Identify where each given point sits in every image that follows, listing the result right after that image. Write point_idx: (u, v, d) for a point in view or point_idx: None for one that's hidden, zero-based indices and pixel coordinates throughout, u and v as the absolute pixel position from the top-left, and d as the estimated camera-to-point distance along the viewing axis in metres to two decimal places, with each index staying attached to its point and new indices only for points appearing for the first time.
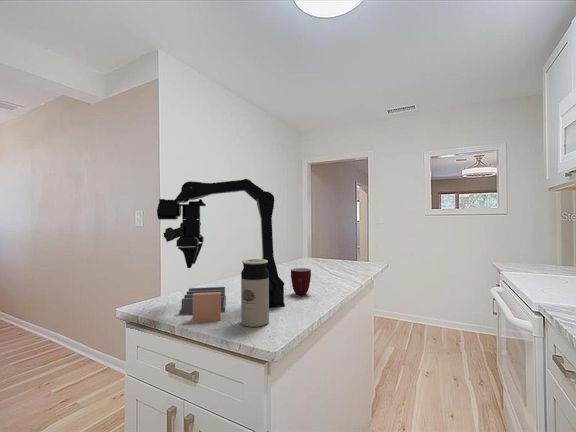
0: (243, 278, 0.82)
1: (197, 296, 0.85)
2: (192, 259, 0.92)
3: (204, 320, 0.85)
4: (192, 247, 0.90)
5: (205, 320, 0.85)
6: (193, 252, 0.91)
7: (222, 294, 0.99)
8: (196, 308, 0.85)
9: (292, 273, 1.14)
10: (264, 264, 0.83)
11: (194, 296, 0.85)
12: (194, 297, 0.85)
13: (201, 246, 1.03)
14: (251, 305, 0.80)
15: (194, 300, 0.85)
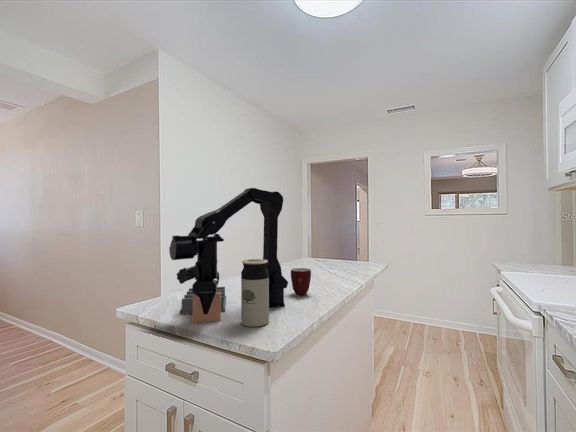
0: (243, 278, 0.82)
1: (197, 296, 0.85)
2: (209, 304, 0.81)
3: (204, 320, 0.85)
4: (210, 292, 0.79)
5: (205, 320, 0.85)
6: (210, 297, 0.81)
7: (222, 294, 0.99)
8: (196, 308, 0.85)
9: (292, 273, 1.14)
10: (264, 264, 0.83)
11: (194, 296, 0.85)
12: (194, 297, 0.85)
13: (217, 284, 0.93)
14: (251, 305, 0.80)
15: (194, 300, 0.85)
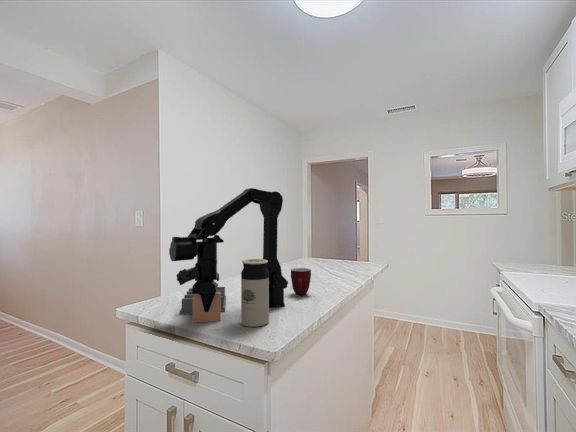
0: (243, 278, 0.82)
1: (197, 296, 0.85)
2: (210, 302, 0.84)
3: (204, 320, 0.85)
4: None
5: (205, 320, 0.85)
6: (211, 295, 0.84)
7: (222, 294, 0.99)
8: (196, 308, 0.85)
9: (292, 273, 1.14)
10: (264, 264, 0.83)
11: (194, 296, 0.85)
12: (194, 297, 0.85)
13: None
14: (251, 305, 0.80)
15: (194, 300, 0.85)
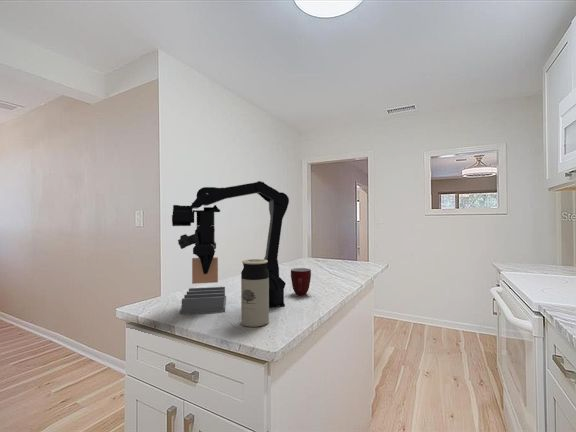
0: (243, 278, 0.82)
1: (196, 260, 0.94)
2: (208, 265, 0.93)
3: (203, 282, 0.94)
4: (209, 253, 0.91)
5: (204, 282, 0.94)
6: (210, 258, 0.93)
7: (222, 294, 0.99)
8: (195, 270, 0.94)
9: (292, 273, 1.14)
10: (264, 264, 0.83)
11: (193, 260, 0.93)
12: (194, 261, 0.93)
13: None
14: (251, 305, 0.80)
15: (193, 263, 0.93)
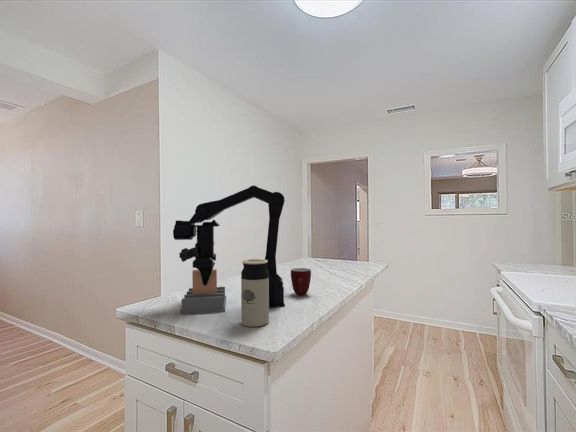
0: (243, 278, 0.82)
1: (196, 272, 0.99)
2: (208, 277, 0.99)
3: (202, 292, 1.00)
4: (208, 266, 0.97)
5: (203, 292, 1.00)
6: (209, 270, 0.98)
7: (222, 294, 0.99)
8: (195, 282, 0.99)
9: (292, 273, 1.14)
10: (264, 264, 0.83)
11: (194, 272, 0.99)
12: (194, 273, 0.99)
13: (213, 265, 1.04)
14: (251, 305, 0.80)
15: (194, 275, 0.99)
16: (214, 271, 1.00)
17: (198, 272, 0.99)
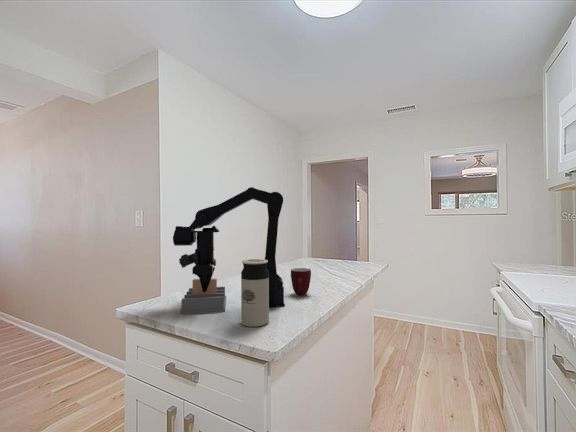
0: (243, 278, 0.82)
1: (196, 281, 1.00)
2: (207, 283, 0.98)
3: None
4: None
5: None
6: (208, 277, 0.97)
7: (222, 294, 0.99)
8: (195, 291, 0.99)
9: (292, 273, 1.14)
10: (264, 264, 0.83)
11: (194, 281, 0.99)
12: (194, 282, 0.99)
13: (213, 271, 1.05)
14: (251, 305, 0.80)
15: (194, 284, 0.99)
16: (214, 280, 1.01)
17: (198, 281, 1.00)
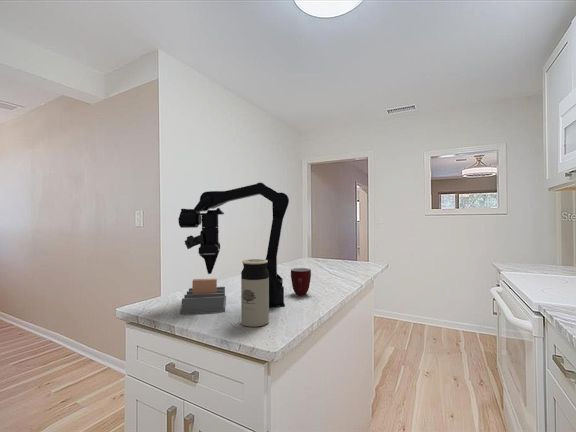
0: (243, 278, 0.82)
1: (196, 281, 0.99)
2: (212, 265, 0.97)
3: None
4: (213, 254, 0.95)
5: None
6: (213, 259, 0.97)
7: (222, 294, 0.99)
8: (195, 292, 0.99)
9: (292, 273, 1.14)
10: (264, 264, 0.83)
11: (194, 281, 0.99)
12: (194, 282, 0.99)
13: (218, 252, 1.08)
14: (251, 305, 0.80)
15: (194, 285, 0.99)
16: (214, 280, 1.00)
17: (198, 282, 0.99)
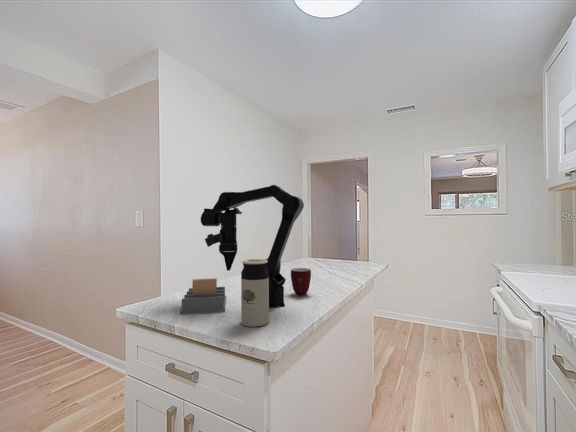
0: (243, 278, 0.82)
1: (196, 281, 0.99)
2: (231, 262, 1.02)
3: None
4: (232, 252, 1.00)
5: None
6: (232, 256, 1.02)
7: (222, 294, 0.99)
8: (195, 292, 0.99)
9: (292, 273, 1.14)
10: (264, 264, 0.83)
11: (194, 281, 0.99)
12: (194, 282, 0.99)
13: None
14: (251, 305, 0.80)
15: (194, 285, 0.99)
16: (214, 280, 1.00)
17: (198, 282, 0.99)
